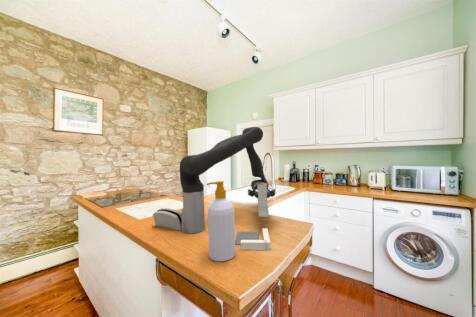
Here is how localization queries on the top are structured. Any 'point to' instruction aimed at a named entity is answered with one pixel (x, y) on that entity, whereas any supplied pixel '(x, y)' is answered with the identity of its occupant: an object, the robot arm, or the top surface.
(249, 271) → the top surface
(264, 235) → the corner piece
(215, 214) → the soap bottle
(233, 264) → the top surface
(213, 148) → the robot arm
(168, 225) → the grey rounded block
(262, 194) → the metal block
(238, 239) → the pad
